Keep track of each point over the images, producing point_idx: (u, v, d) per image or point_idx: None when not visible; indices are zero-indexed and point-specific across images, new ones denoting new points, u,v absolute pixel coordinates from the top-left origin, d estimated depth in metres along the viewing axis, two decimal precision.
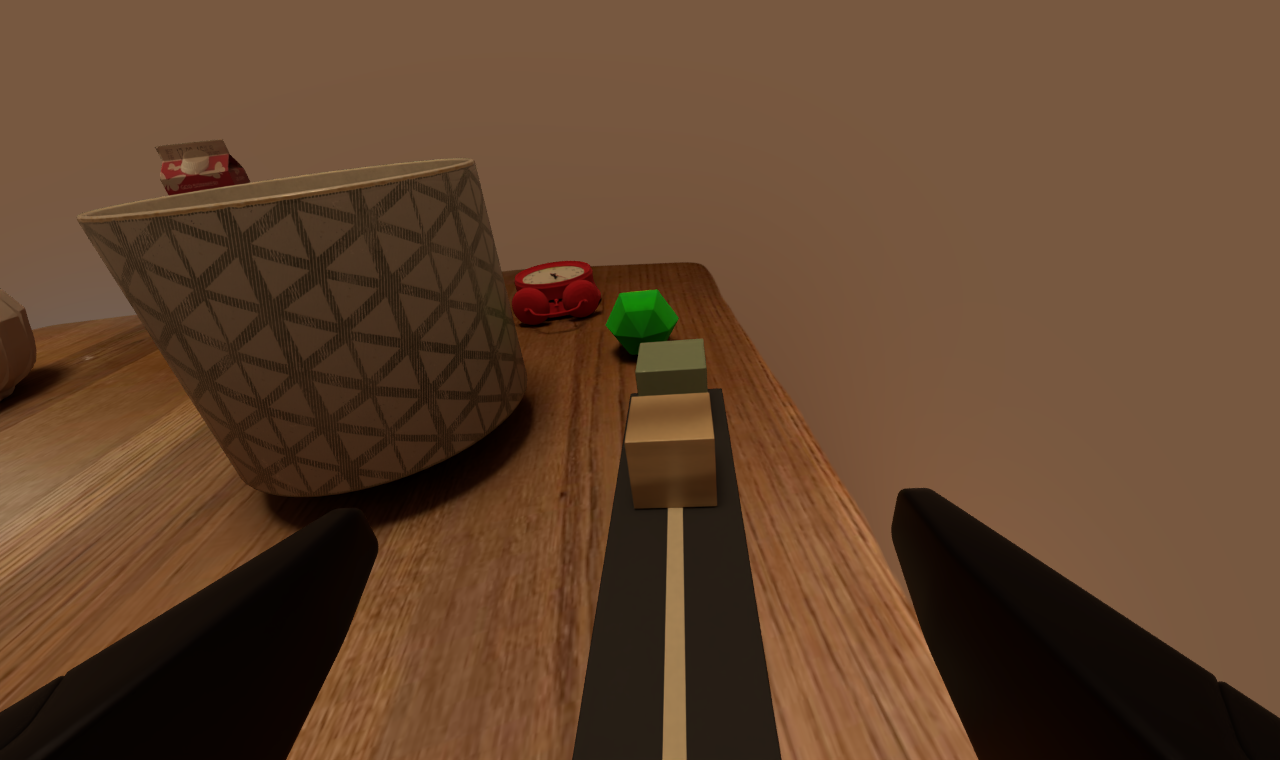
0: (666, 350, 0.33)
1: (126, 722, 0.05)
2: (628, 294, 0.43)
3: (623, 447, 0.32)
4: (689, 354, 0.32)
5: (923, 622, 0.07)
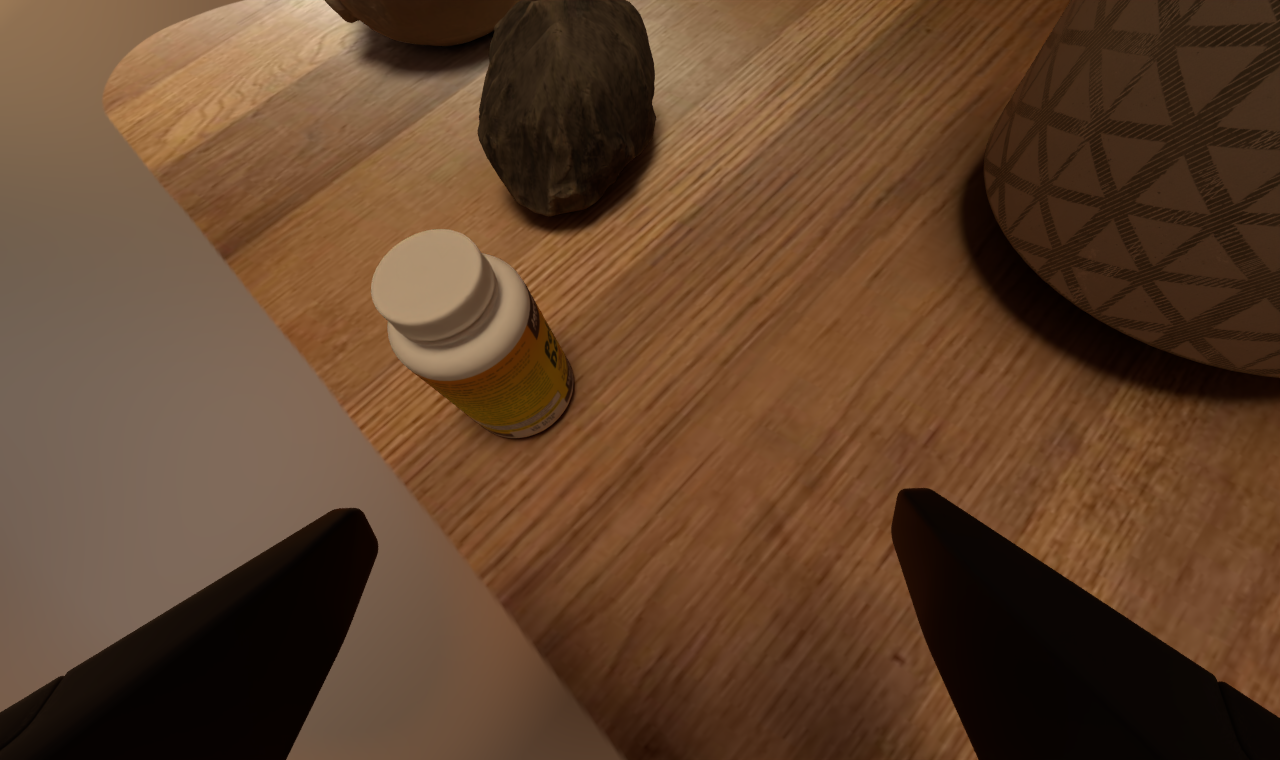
0: None
1: (126, 722, 0.05)
2: None
3: None
4: None
5: (923, 622, 0.07)
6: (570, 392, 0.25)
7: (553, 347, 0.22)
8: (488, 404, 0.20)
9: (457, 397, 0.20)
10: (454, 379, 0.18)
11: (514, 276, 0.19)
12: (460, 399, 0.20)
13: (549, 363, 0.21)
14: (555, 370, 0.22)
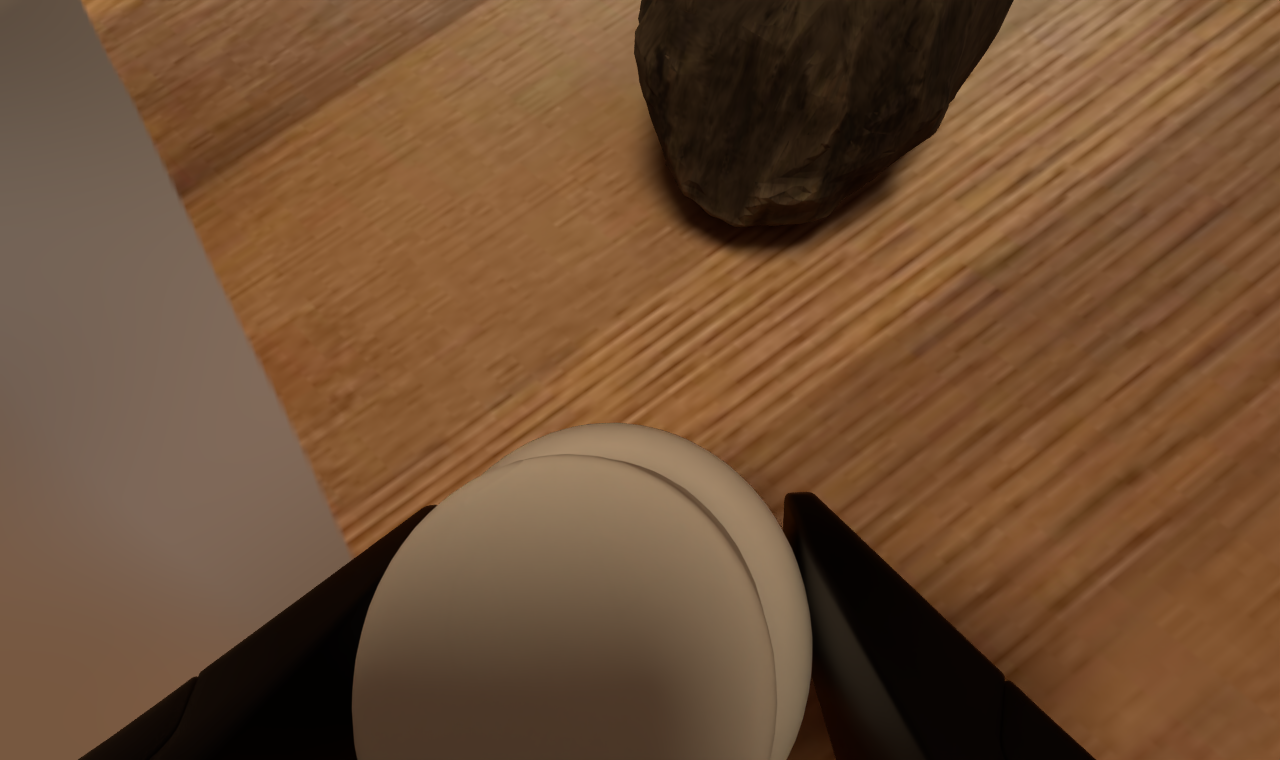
0: None
1: (270, 724, 0.05)
2: None
3: None
4: None
5: None
6: None
7: None
8: None
9: None
10: None
11: (786, 563, 0.06)
12: None
13: None
14: None
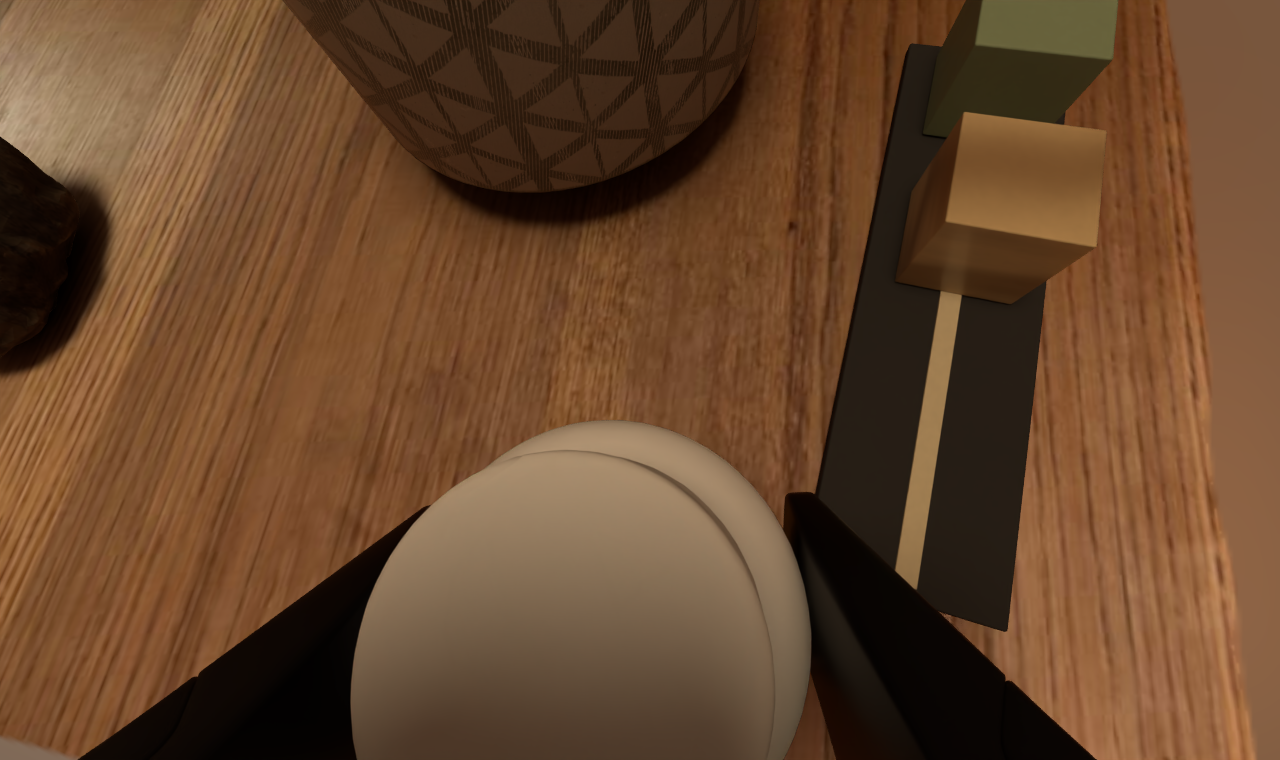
0: None
1: (270, 724, 0.05)
2: None
3: (888, 163, 0.22)
4: (1086, 12, 0.18)
5: None
6: None
7: None
8: None
9: None
10: None
11: (785, 559, 0.06)
12: None
13: None
14: None
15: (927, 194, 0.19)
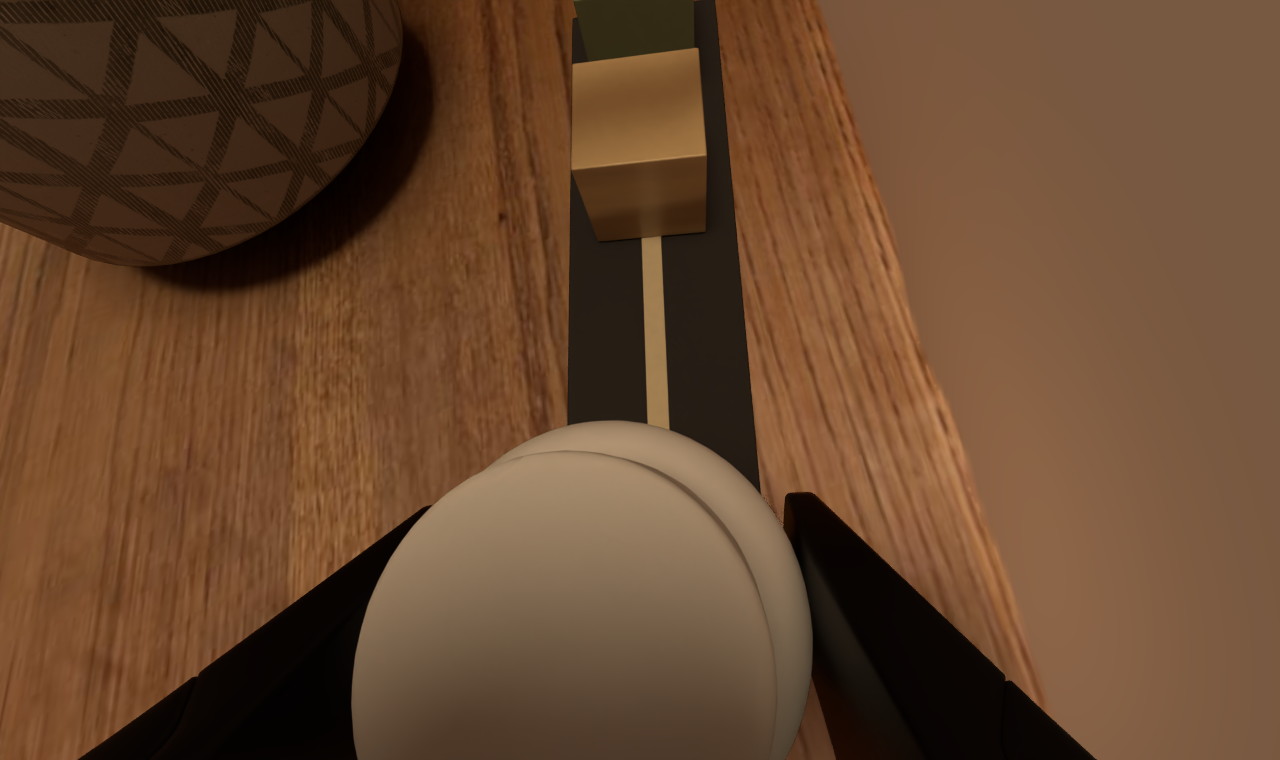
0: None
1: (269, 724, 0.05)
2: None
3: None
4: None
5: None
6: None
7: None
8: None
9: None
10: None
11: (786, 560, 0.06)
12: None
13: None
14: None
15: None
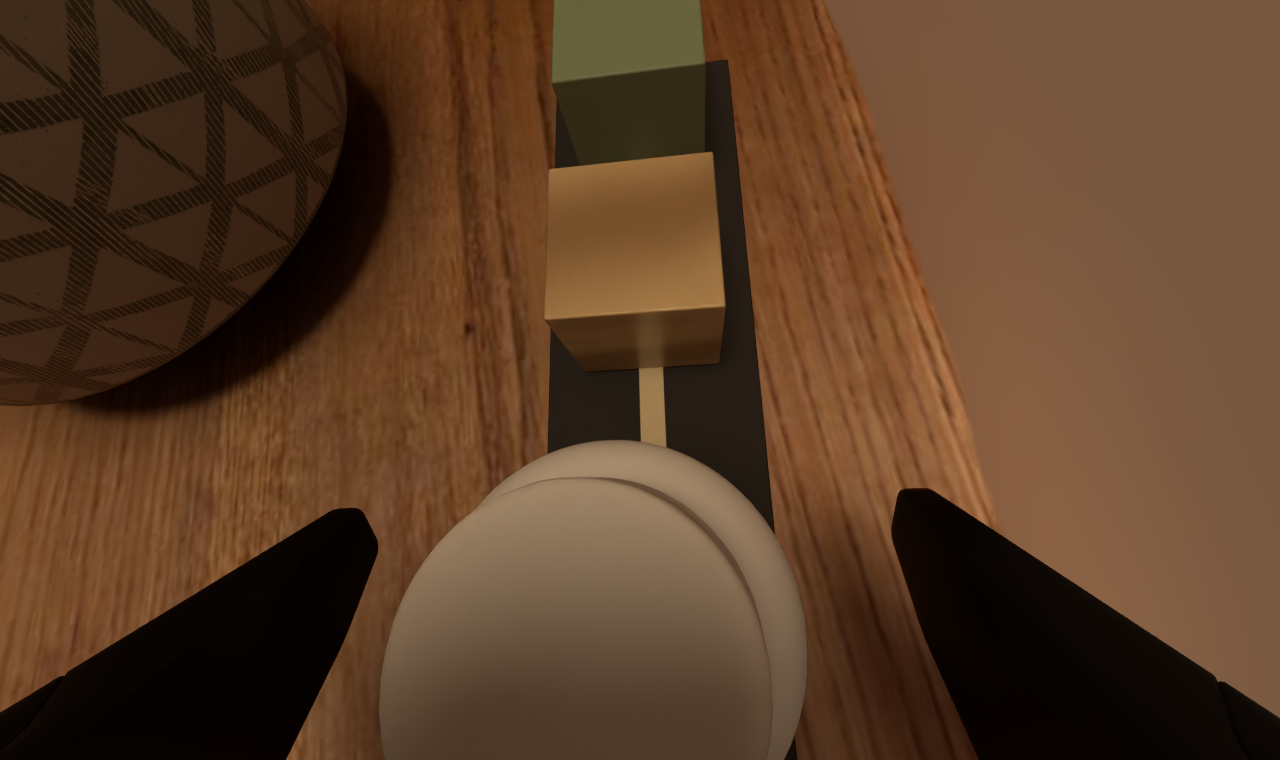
0: None
1: (126, 722, 0.05)
2: None
3: None
4: (667, 14, 0.14)
5: (923, 622, 0.07)
6: None
7: None
8: None
9: None
10: None
11: (783, 576, 0.07)
12: None
13: None
14: None
15: None
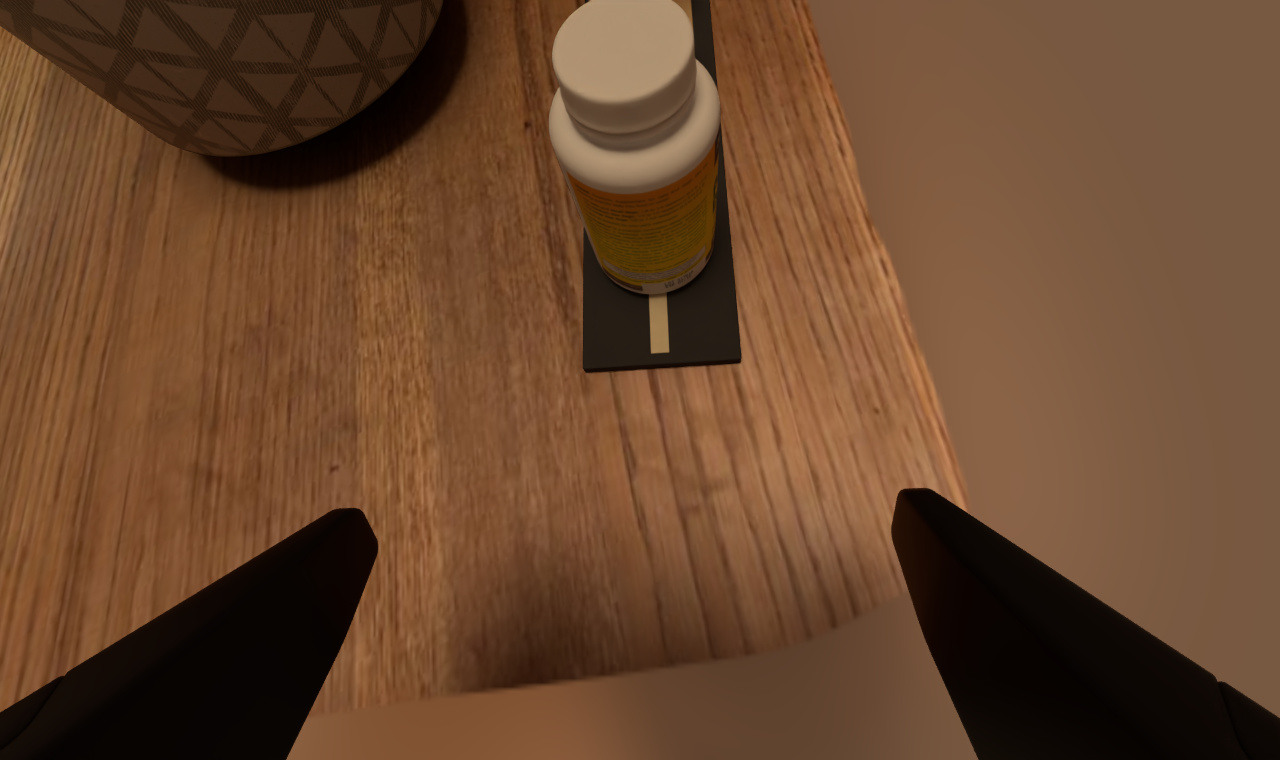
0: None
1: (126, 722, 0.05)
2: None
3: None
4: None
5: (923, 622, 0.07)
6: (711, 252, 0.22)
7: (716, 188, 0.19)
8: (641, 239, 0.18)
9: (611, 222, 0.17)
10: (625, 192, 0.15)
11: (709, 77, 0.15)
12: (613, 226, 0.17)
13: (712, 205, 0.18)
14: (712, 216, 0.19)
15: None
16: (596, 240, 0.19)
